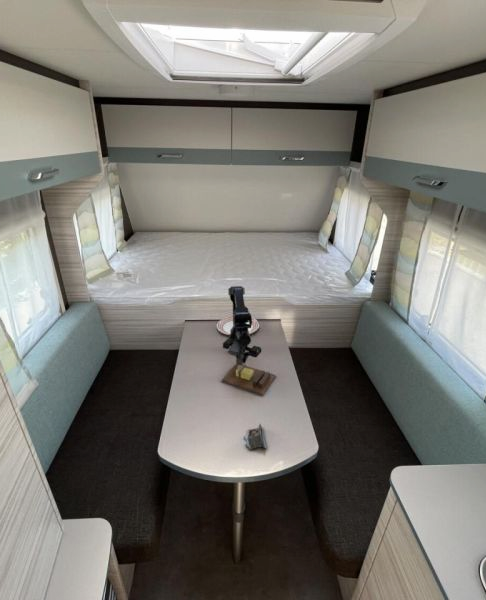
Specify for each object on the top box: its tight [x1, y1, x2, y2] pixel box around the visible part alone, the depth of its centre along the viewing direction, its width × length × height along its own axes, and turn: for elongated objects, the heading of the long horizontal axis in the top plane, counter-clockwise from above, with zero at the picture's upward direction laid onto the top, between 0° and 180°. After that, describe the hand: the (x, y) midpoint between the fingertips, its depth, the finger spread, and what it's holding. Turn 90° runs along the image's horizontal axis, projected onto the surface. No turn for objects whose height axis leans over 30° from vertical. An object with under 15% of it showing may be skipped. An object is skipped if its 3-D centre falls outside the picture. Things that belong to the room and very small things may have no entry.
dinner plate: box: [216, 315, 260, 336], centre depth 212 cm, size 27×27×3 cm
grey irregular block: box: [244, 423, 267, 450], centre depth 127 cm, size 10×7×12 cm
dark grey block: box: [235, 354, 247, 374], centre depth 162 cm, size 3×8×8 cm, turn 152°
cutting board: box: [221, 363, 276, 396], centre depth 163 cm, size 22×16×4 cm
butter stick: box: [241, 368, 254, 380], centre depth 163 cm, size 5×4×3 cm
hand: (241, 362), depth 162 cm, fingers closed on dark grey block, 3 cm apart
